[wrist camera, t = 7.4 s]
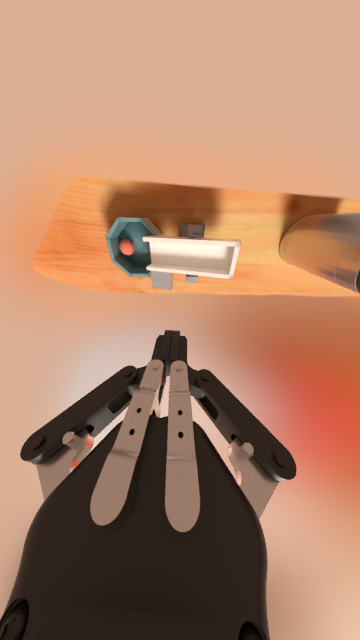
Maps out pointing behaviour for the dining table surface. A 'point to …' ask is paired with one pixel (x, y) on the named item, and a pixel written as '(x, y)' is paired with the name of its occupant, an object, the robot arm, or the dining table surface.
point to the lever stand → (195, 232)
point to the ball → (126, 247)
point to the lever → (190, 258)
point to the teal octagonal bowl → (134, 232)
